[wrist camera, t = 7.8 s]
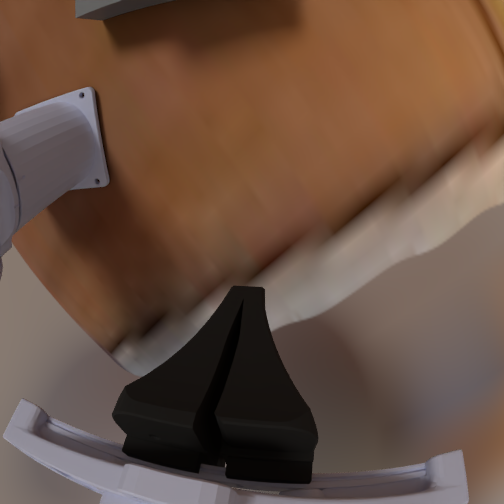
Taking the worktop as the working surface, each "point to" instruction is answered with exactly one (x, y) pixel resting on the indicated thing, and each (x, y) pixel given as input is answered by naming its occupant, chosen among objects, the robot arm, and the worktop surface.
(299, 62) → the worktop surface
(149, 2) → the switch box
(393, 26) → the worktop surface
